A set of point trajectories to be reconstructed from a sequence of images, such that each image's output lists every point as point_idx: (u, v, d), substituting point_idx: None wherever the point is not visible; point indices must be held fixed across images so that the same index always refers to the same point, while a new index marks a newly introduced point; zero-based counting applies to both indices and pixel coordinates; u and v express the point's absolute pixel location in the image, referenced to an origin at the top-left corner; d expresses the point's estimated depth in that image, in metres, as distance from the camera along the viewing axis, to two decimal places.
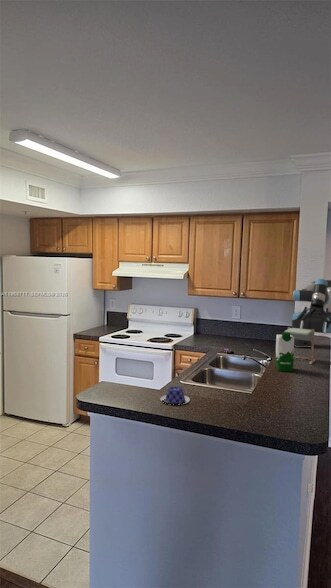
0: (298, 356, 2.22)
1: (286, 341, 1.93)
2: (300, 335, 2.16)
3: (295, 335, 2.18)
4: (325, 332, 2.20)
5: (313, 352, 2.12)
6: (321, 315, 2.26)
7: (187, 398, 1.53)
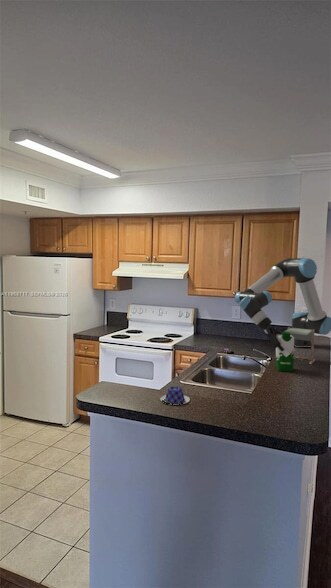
0: (298, 356, 2.22)
1: (286, 341, 1.93)
2: (300, 335, 2.16)
3: (295, 335, 2.18)
4: (287, 355, 1.91)
5: (313, 352, 2.12)
6: None
7: (187, 399, 1.52)
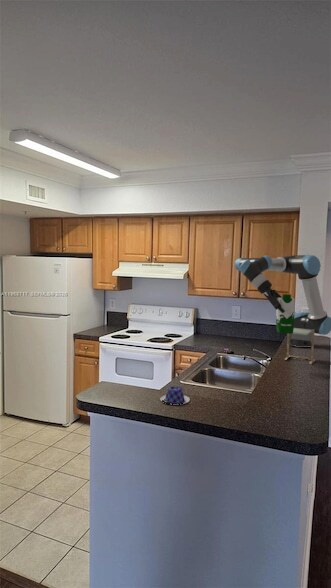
0: (298, 356, 2.22)
1: (287, 303, 1.91)
2: (300, 335, 2.16)
3: (295, 335, 2.18)
4: (287, 316, 1.90)
5: (313, 352, 2.12)
6: None
7: (188, 399, 1.52)
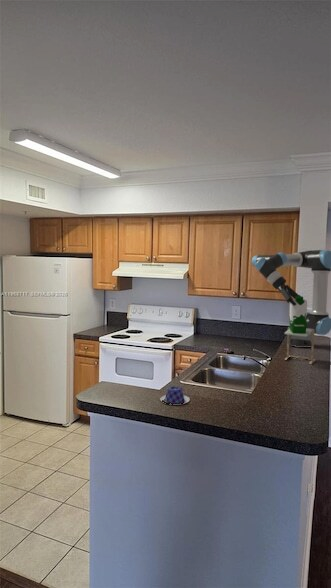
0: (298, 356, 2.22)
1: None
2: None
3: (295, 335, 2.18)
4: (299, 309, 2.01)
5: (313, 352, 2.12)
6: None
7: (187, 400, 1.51)
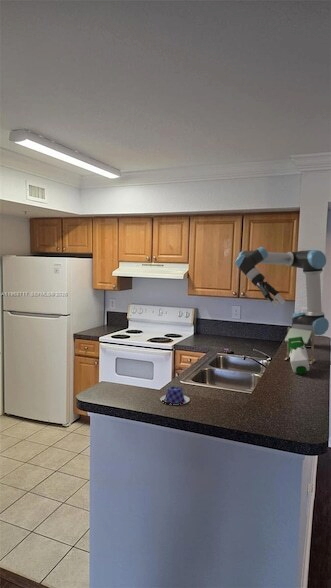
0: None
1: None
2: None
3: None
4: (276, 304, 2.08)
5: (313, 352, 2.12)
6: None
7: (187, 400, 1.51)
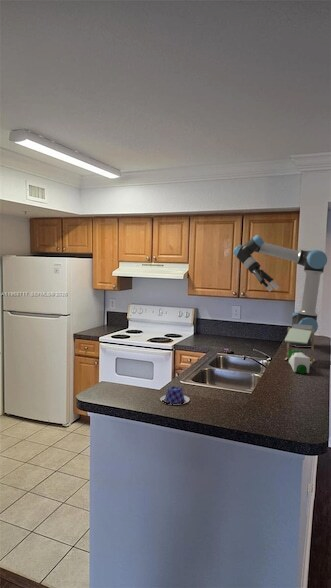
0: None
1: None
2: None
3: None
4: (270, 289, 2.28)
5: (313, 352, 2.12)
6: None
7: (187, 400, 1.51)
